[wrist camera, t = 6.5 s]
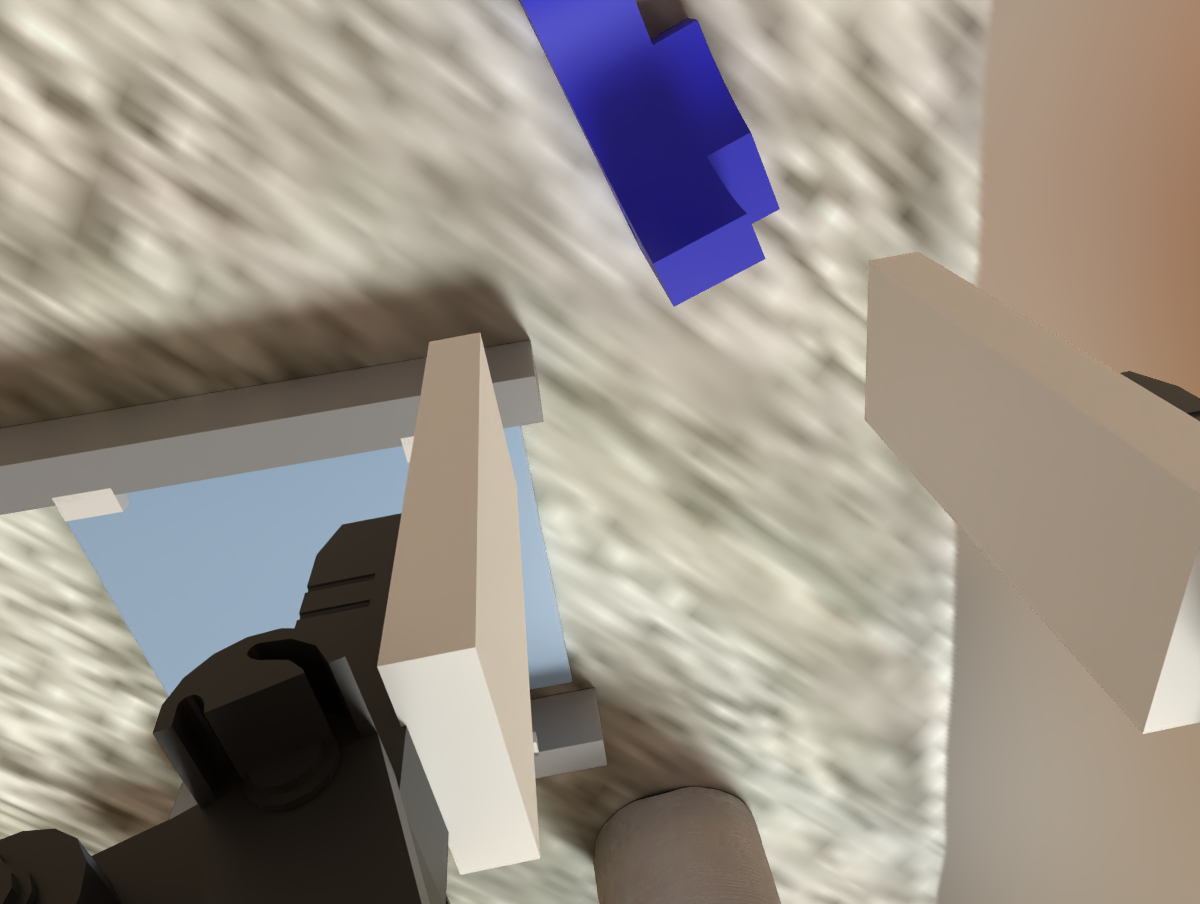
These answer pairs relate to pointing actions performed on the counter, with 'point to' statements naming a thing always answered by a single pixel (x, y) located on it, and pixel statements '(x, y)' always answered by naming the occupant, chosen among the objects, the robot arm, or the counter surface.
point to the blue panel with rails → (273, 514)
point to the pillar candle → (683, 852)
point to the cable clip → (661, 137)
